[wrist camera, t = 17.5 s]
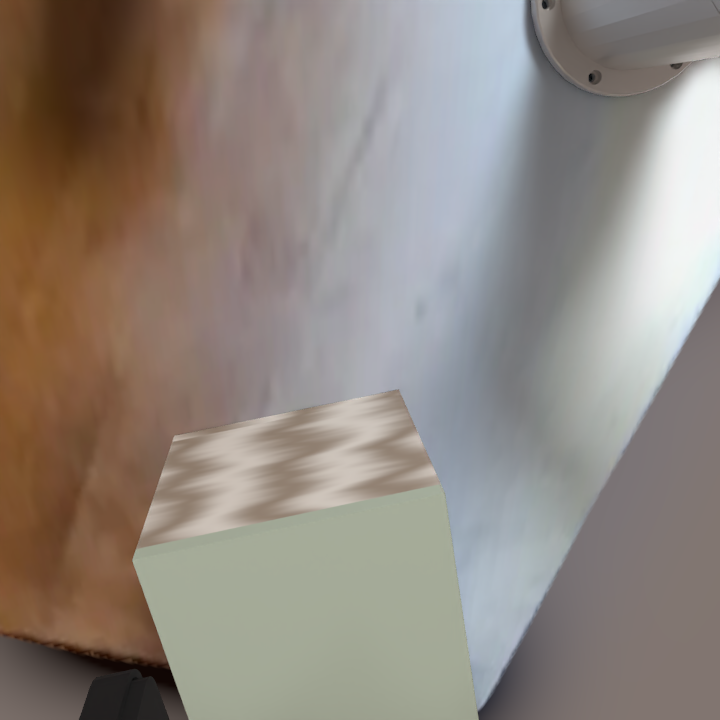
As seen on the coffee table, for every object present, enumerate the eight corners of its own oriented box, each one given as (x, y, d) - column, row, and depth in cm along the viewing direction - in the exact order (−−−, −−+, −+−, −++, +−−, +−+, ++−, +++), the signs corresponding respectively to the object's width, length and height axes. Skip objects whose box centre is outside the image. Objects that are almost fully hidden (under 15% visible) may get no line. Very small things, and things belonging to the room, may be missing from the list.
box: (398, 389, 50) (440, 484, 37) (429, 572, 56) (474, 710, 43) (174, 435, 49) (136, 549, 36) (229, 616, 55) (213, 770, 42)
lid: (440, 484, 37) (444, 493, 36) (474, 710, 43) (479, 723, 42) (136, 549, 36) (132, 560, 35) (213, 770, 42) (212, 785, 41)
